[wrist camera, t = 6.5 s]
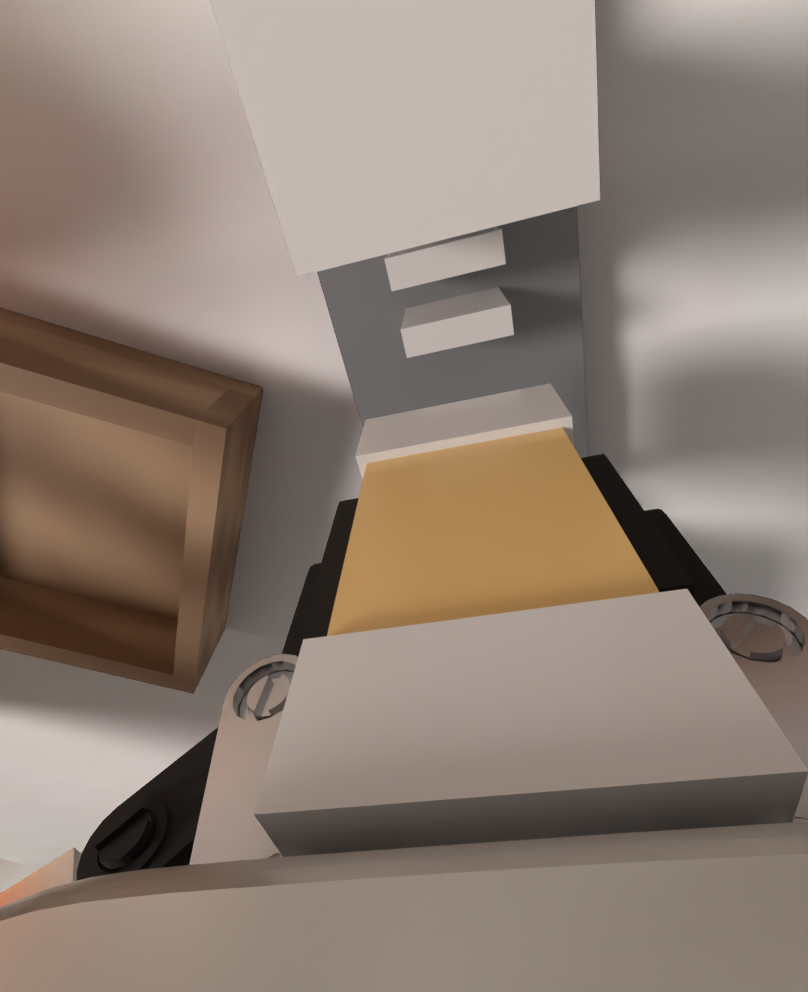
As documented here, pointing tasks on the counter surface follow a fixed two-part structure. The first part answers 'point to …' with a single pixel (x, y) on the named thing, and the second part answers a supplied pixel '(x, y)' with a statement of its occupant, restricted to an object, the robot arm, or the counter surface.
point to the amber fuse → (508, 660)
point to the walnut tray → (117, 503)
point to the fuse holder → (465, 319)
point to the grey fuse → (414, 116)
